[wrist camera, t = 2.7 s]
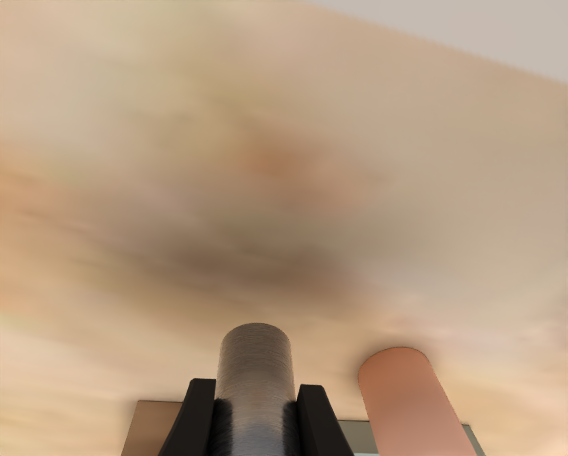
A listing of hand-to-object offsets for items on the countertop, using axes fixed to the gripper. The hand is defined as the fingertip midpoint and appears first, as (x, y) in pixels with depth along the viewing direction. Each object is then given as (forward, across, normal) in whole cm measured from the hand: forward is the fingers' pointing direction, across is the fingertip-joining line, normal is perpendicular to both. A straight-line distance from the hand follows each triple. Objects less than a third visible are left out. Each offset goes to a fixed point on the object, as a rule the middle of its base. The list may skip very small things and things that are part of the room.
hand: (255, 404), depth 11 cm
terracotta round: (+6, -8, +5) cm, 11 cm away
